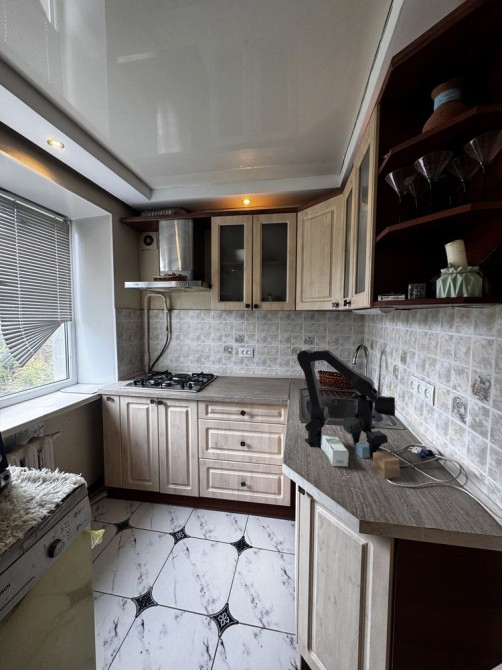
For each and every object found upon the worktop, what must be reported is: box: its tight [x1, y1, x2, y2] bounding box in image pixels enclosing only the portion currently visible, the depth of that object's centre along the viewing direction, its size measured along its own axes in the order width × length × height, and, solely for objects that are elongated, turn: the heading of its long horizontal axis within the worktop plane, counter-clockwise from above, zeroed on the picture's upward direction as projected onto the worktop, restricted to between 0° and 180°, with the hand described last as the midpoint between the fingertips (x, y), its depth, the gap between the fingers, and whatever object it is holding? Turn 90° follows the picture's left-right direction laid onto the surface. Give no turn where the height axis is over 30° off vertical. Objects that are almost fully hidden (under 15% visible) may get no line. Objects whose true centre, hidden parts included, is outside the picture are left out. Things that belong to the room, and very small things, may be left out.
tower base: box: [371, 460, 401, 480], centre depth 89 cm, size 6×6×3 cm
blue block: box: [355, 441, 371, 459], centre depth 101 cm, size 4×4×4 cm
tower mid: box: [372, 450, 400, 470], centre depth 89 cm, size 6×6×3 cm
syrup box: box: [320, 433, 349, 467], centre depth 99 cm, size 6×6×14 cm
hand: (363, 451), depth 101 cm, fingers open, 9 cm apart
